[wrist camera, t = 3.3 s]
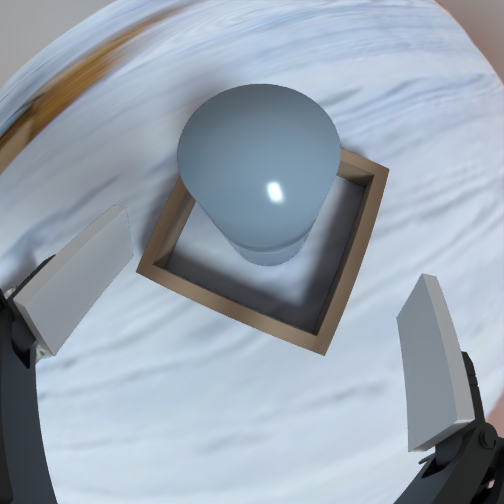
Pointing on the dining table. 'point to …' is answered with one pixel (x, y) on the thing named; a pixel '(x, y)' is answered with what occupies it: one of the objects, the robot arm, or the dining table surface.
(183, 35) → the dining table surface
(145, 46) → the dining table surface
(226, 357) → the dining table surface
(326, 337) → the wooden square frame
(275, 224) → the slate jar
